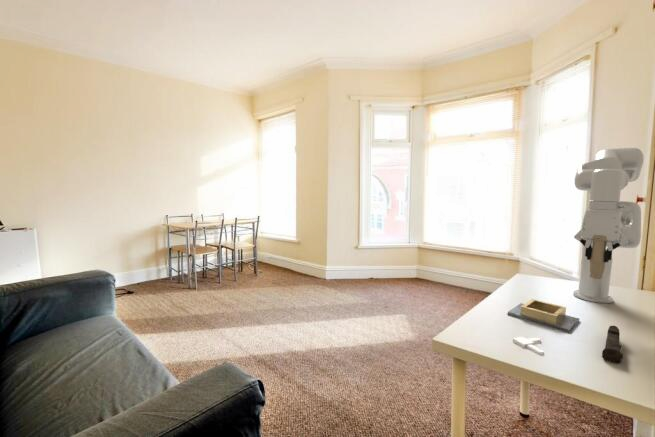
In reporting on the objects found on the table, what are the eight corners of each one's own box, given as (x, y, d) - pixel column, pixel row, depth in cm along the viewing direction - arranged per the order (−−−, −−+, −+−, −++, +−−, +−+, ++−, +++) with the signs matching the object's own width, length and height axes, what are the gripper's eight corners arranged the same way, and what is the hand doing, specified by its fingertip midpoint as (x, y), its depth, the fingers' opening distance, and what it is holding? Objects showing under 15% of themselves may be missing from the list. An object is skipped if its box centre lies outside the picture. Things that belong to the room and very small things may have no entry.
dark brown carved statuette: (621, 366, 82) (623, 349, 82) (601, 360, 85) (603, 344, 84) (624, 341, 95) (626, 326, 95) (607, 336, 98) (609, 322, 98)
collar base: (520, 305, 122) (521, 295, 121) (579, 321, 108) (580, 310, 108) (507, 314, 113) (508, 303, 113) (569, 332, 100) (570, 320, 99)
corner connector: (558, 353, 89) (559, 347, 89) (536, 357, 87) (537, 352, 87) (533, 339, 97) (533, 334, 97) (512, 343, 94) (512, 338, 94)
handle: (605, 281, 104) (610, 236, 102) (581, 276, 109) (586, 233, 107) (610, 279, 107) (615, 235, 105) (586, 274, 112) (590, 232, 110)
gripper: (639, 207, 101) (633, 263, 104) (574, 204, 114) (570, 254, 116) (637, 208, 97) (630, 267, 99) (569, 205, 109) (564, 257, 111)
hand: (597, 259), depth 107 cm, fingers closed on handle, 3 cm apart
